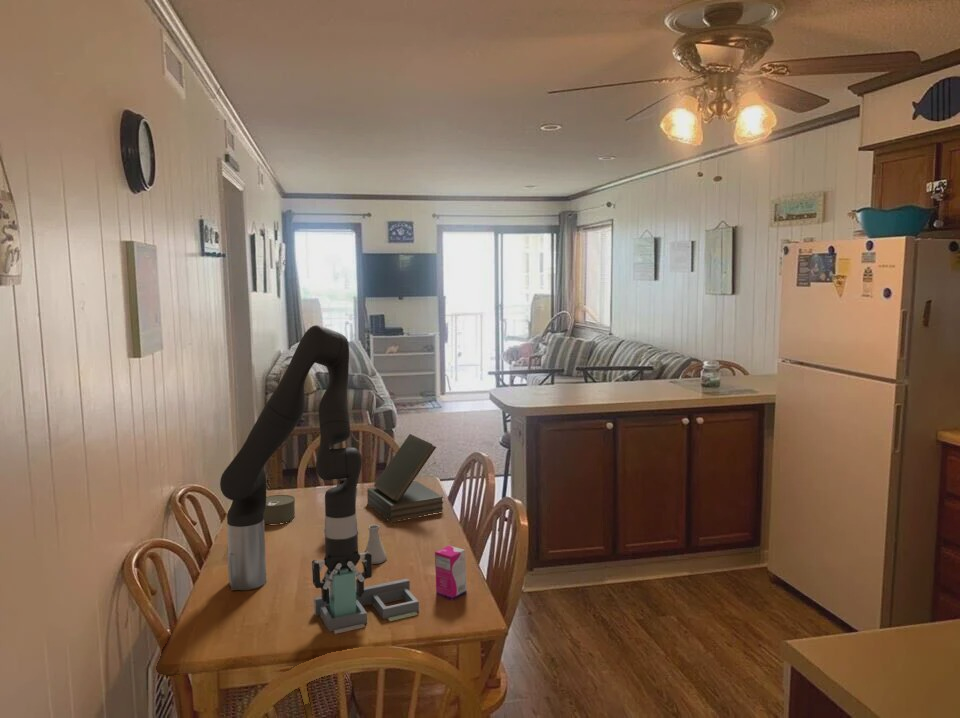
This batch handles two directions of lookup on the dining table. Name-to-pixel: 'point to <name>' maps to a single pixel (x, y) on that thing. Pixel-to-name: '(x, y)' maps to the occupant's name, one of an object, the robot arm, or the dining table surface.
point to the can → (279, 509)
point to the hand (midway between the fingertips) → (343, 598)
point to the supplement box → (450, 572)
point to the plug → (342, 594)
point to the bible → (405, 484)
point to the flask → (375, 545)
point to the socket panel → (377, 598)
